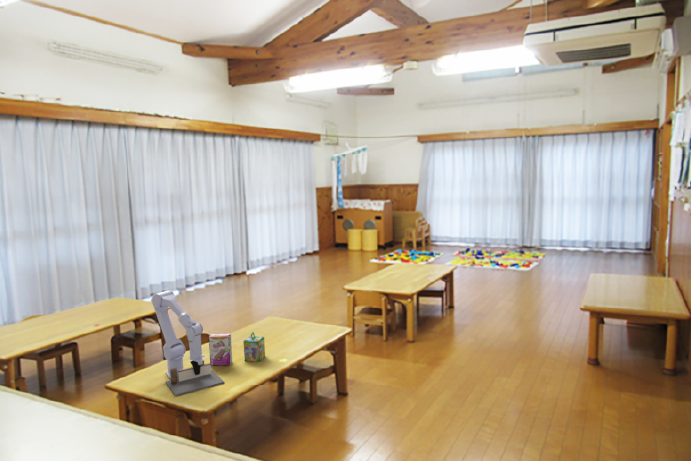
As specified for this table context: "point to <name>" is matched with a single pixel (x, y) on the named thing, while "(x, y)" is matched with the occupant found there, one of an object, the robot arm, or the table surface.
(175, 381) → the gate posts
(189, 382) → the mat
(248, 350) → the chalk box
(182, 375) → the gate
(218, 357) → the candy bar box
